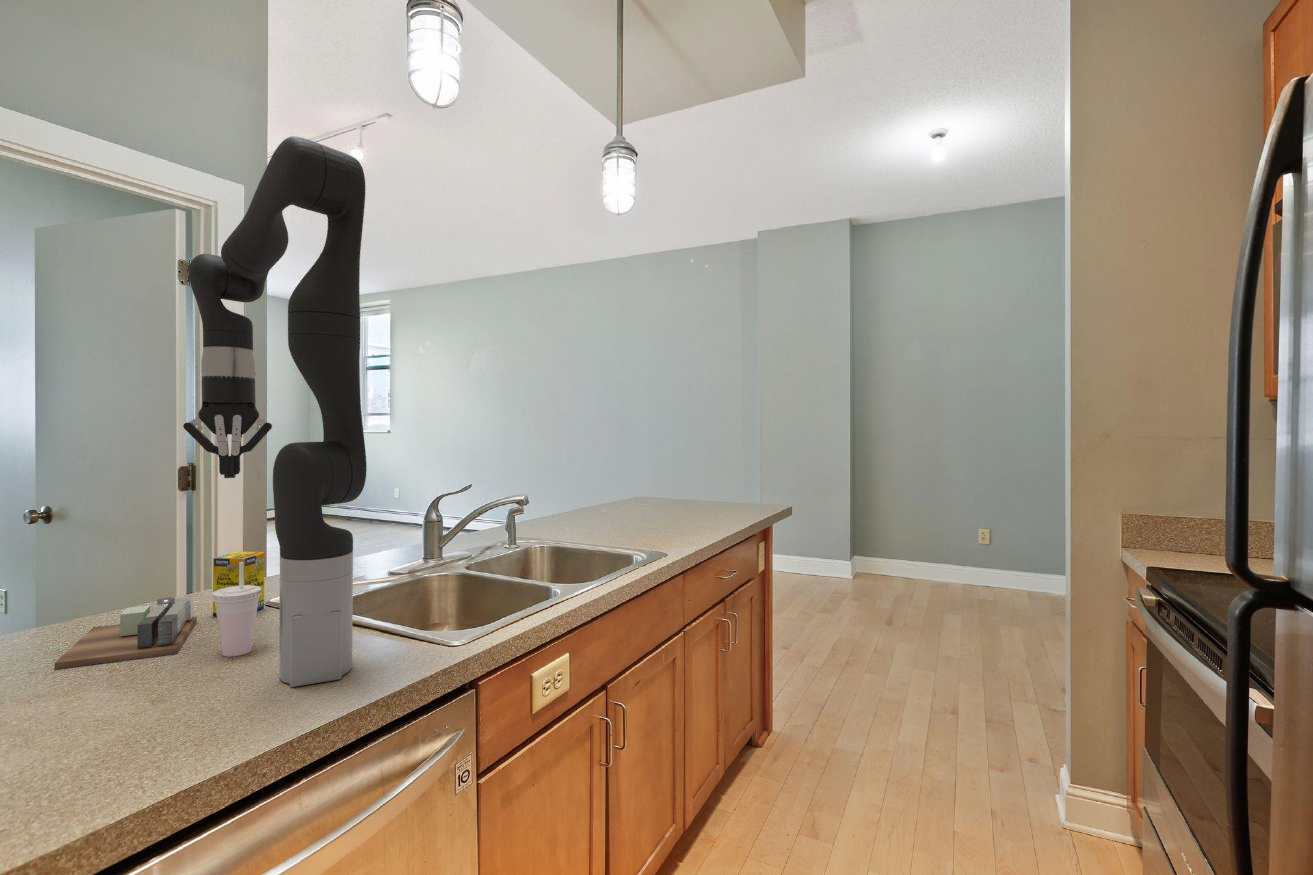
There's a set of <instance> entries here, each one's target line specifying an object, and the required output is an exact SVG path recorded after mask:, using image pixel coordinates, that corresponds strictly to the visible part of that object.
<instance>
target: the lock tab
mask: <svg viewBox="0 0 1313 875" xmlns="http://www.w3.org/2000/svg"><path fill="white" fill-rule="evenodd" d="M150 612H151V605H144V606H132V607H126V608H125V609H124V610H123V611H122V612H121V613H120V614H119V624H120V636H127V635H136V634H138V624H139V623H140V622H141V621H142V620H143V619H144V617H146V616H147V615H148V614H149V613H150Z"/></svg>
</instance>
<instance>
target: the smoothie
mask: <svg viewBox="0 0 1313 875" xmlns="http://www.w3.org/2000/svg"><path fill="white" fill-rule="evenodd" d="M261 594H262V593H261V587H259V586H254V585H244V562H239V586H233V587H227V588H223V589H219V590H217V591H215V592H213V591H212V594H211V595H212V598H211V601H212V602H213V601H214V602H215V607H216V614H217V617H216V619H217V627H218V634H219V639H220V646H221V653H222V656H224V657H230V658H231V657H237V656H238V657H239V656H242V655H246V654H248V653H250V652H251V651H252V646H253V641H254V634H255V627H256V619H257V612H258V611H257V607H258V599H259V596H260V595H261Z"/></svg>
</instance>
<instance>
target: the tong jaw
mask: <svg viewBox="0 0 1313 875" xmlns="http://www.w3.org/2000/svg"><path fill="white" fill-rule="evenodd" d="M168 610H169V604H160V605H157V604H156V605H155V606H154V608H152V610H150V613H149V614H148V615H147V616H146V617H144V619H143V620H142V621H141V622H140V623H139V624H138V648H145V647H152V646H153V644H154V643H155V642H156V641H157V639H158V622H159V621H160V620H161V618H162V617H163V616H164V615H165V614H166V613H167V612H168Z"/></svg>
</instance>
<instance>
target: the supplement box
mask: <svg viewBox="0 0 1313 875" xmlns="http://www.w3.org/2000/svg"><path fill="white" fill-rule="evenodd" d="M239 562H244V585H254V586H259V587H261V593H262V594H261V595H260V596H259V599H258V607H257V612H258V611H261V610H263V609H264V608H265V552H263V551H233V552H231V553H227V554H224V555H220V556H215V557H213V558H212V572H213V573H212V574H213V575H212V593H213V592H215V591H217V590H219V589H223V588H227V587H233V586H239ZM212 617H213V618H217V614H216V607H215V602H214V601H212Z"/></svg>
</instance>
